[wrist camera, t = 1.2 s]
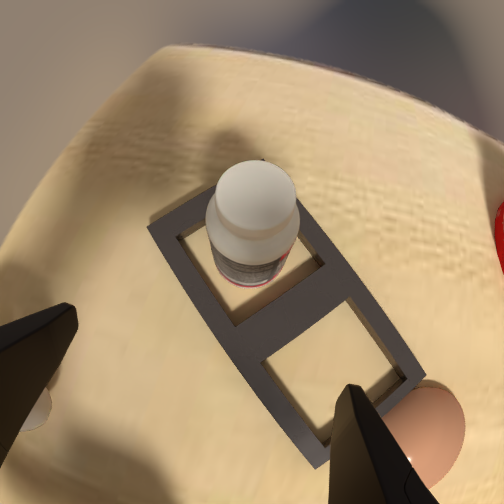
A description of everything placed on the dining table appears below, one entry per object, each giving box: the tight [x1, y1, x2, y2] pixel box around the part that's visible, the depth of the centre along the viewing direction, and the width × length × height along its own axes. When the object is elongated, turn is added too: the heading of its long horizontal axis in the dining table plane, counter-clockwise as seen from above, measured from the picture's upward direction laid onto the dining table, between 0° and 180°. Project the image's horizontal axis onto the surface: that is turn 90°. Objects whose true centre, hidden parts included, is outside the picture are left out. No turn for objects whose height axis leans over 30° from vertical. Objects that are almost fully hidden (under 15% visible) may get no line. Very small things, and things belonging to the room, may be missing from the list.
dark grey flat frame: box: [147, 159, 426, 469], centre depth 23 cm, size 11×22×1 cm, turn 35°
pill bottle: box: [206, 160, 300, 289], centre depth 20 cm, size 5×5×10 cm
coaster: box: [382, 387, 465, 489], centre depth 19 cm, size 10×10×1 cm
